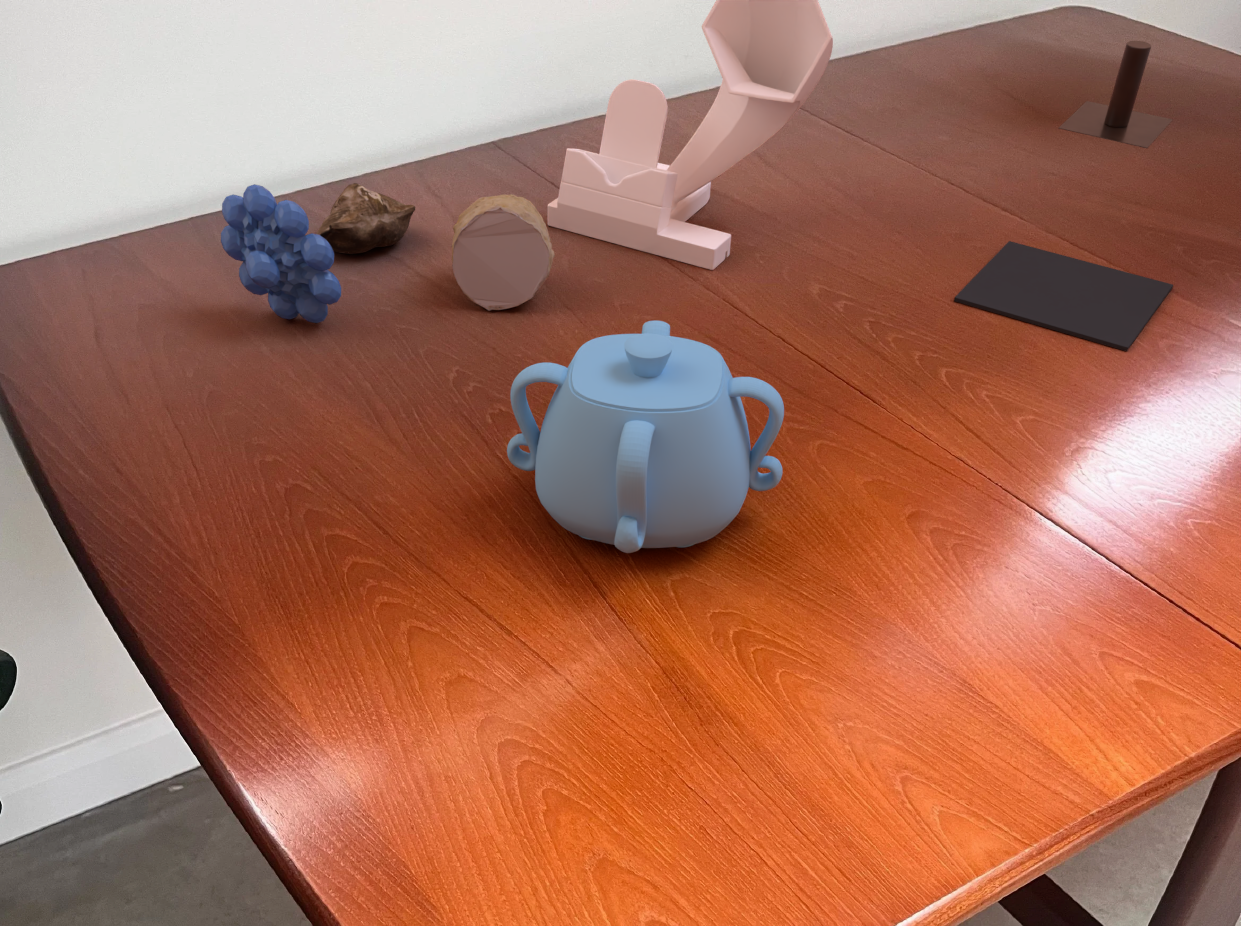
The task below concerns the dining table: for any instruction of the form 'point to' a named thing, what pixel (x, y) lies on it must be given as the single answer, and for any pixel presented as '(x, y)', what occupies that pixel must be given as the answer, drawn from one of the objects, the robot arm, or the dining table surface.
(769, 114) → the phone horn amplifier
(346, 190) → the fossilized seashell
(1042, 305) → the mat
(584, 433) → the decorative pot
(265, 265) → the grapes
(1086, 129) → the stand
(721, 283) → the dining table surface
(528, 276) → the bark-rimmed wood disc
